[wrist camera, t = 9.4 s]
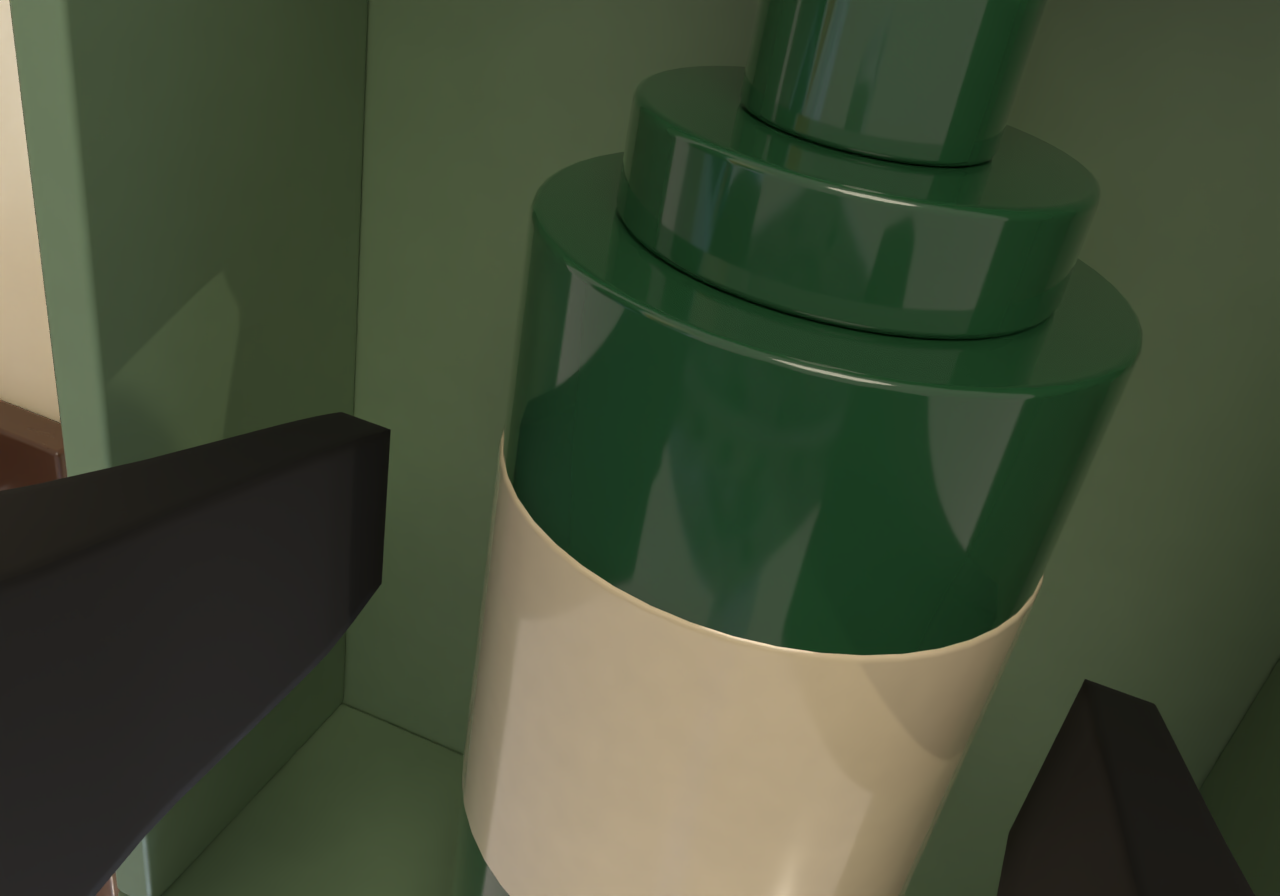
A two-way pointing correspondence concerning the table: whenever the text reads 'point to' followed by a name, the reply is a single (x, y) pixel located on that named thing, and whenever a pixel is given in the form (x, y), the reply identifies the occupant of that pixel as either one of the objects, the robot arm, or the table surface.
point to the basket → (483, 351)
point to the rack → (34, 474)
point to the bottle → (782, 462)
